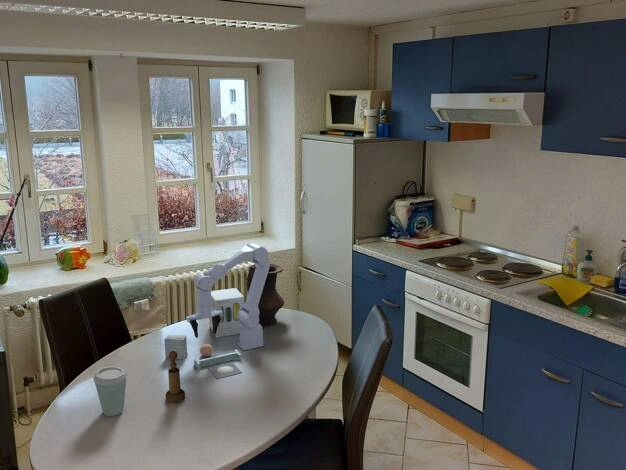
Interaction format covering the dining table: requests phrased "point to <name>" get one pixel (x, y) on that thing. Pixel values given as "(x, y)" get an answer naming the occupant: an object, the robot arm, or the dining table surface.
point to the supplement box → (227, 310)
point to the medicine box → (176, 345)
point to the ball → (206, 350)
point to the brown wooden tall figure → (174, 382)
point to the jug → (267, 295)
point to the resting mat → (225, 370)
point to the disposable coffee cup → (111, 389)
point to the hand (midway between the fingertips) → (205, 335)
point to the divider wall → (217, 359)
